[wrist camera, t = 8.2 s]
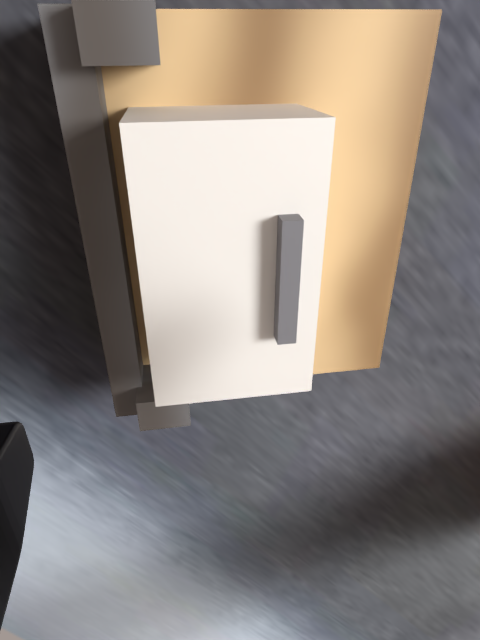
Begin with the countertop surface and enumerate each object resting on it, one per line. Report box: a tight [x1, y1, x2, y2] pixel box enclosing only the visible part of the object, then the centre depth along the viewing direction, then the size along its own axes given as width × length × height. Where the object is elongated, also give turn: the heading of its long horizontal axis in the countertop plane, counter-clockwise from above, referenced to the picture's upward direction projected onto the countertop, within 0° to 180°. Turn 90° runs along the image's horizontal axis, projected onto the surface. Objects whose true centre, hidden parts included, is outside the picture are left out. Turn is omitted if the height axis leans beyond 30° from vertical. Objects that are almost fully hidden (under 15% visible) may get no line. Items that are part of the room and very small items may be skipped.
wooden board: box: [38, 0, 442, 431], centre depth 17 cm, size 12×14×4 cm
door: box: [119, 103, 336, 407], centre depth 15 cm, size 6×9×5 cm, turn 0°
